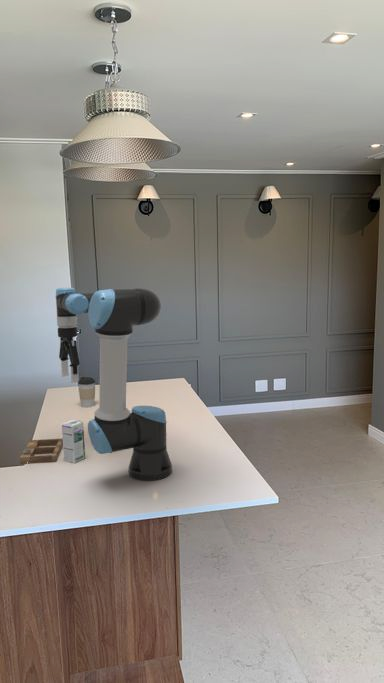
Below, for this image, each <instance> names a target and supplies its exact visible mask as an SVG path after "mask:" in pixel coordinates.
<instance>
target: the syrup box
mask: <svg viewBox="0 0 384 683" xmlns="http://www.w3.org/2000/svg"><path fill="white" fill-rule="evenodd" d="M61 435H62V439H63V447H62V449H63V460H64V461H66V462H69V463H73V464H76V463H77V462H79V461H82V460H85V459H86V447H85V430H84V422H83V421H81V420H77V419H71V420H69V421H66V422H64V423H61Z"/></svg>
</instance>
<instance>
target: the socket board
mask: <svg viewBox="0 0 384 683" xmlns="http://www.w3.org/2000/svg"><path fill="white" fill-rule="evenodd" d="M62 449H63V438H49V439H47V438H46V439H30V440H29V442H28V443H27V445H26V447H25V448H24V449H23V452H22V453H21V454H20V456H19V464H20V465H24V464H25V465H26V464H27V462H28V464H42V463H57V461H58V458H59V457H60V454H61V451H62Z"/></svg>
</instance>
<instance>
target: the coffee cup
mask: <svg viewBox="0 0 384 683" xmlns="http://www.w3.org/2000/svg"><path fill="white" fill-rule="evenodd" d="M77 384H78V392H79V393H78V394H79V399H80V407H81V408H84V407H85V408H92V406H93V407H94V406H95V398H96V380H95V379H94V378H93V377H84V376H83V377H79V382H77Z"/></svg>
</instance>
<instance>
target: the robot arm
mask: <svg viewBox="0 0 384 683" xmlns="http://www.w3.org/2000/svg"><path fill="white" fill-rule="evenodd" d="M55 301H56V302H55V303H56V304H55V305H56V324H57V336H58V338H59V339H60V343H59V355H58V358H59V359H60V366H61V369H60V371H61V377H62V378H63V377H69V375H70V383H71V384H73V383H74V384H75V383H78V382H79V380H80V378H79V366H80V364H81V363H80V358H79V353H78V348H77V340H76V339H75V340H74V338H76V337H78V327H77V325H78V324H77V322H78V320H79V318H78V317H77V315H81V314H87V315H88V316H87V317H88V322H89V324H90V327H91V328H93V329H94V333H95V334H96V335H97V336H98V337H99V395H98V396H99V397H98V398H99V400H98V402H99V403H98V406H99V407H98V408H97V409H96V410H95V411H94V419H93V418H92V419H90V420H89V421H88V423H87V431H88V432H87V433H88V437H89V440H90V443H91V446H92V447H93V449H94V450H95V452H96V453H98V454H100V455H105V454H113V453H115V452H121V451H125V450H129V449H132V453H131V454H132V455H131V458H130V462H129V465H128V475H129V476H130V477H131V478H133V479H135V480H139V481H140V480H141V481H157V480H161V479H164V478H167V477H168V476H170V475H171V474H172V472H173V465H172V464H173V463H172V462H171V458H170V455H169V453H168V450H167V422H168V421H167V416H166V412H165V411H164V409H162V408H160V407H157V406H152V405H135V406H133V407H132V408H131V411H130V409H129V408H127V380H128V379H127V375H128V372H127V371H128V367H127V366H128V339H129V337H130V336H131V335H132V334H134V333H133V332H134V331H133V328H134V327H135V326H141V325H142V326H143V325H147V324H149V323H152V322H153V321H154V320H156V319H157V318H158V316H159V314H160V313H161V312H160V311H161V307H162V306H161V305H162V304H161V300H160V297H159V296H158V295H157V294H156V292H154V291H152V290H150V289H146V288H107V289H101V290H100V289H99V290H97V291H95V292H89V293H88V292H87V293H86V292H85V293H76V289H75V288H74V287H58V288H57V289H56V290H55ZM69 362H70V364H69ZM69 367H70V372H69ZM69 373H70V374H69Z"/></svg>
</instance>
